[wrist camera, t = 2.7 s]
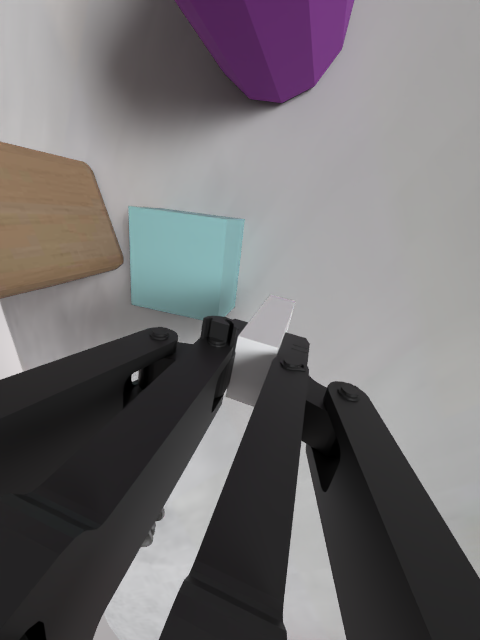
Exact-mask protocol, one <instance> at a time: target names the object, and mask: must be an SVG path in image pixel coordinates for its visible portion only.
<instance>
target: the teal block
mask: <svg viewBox="0 0 480 640" xmlns="http://www.w3.org/2000/svg"><path fill="white" fill-rule="evenodd" d="M128 208H129V239H130V270H131V302H132V305H136V306H140V307H145V308H149V309H154V310H158V311H163V312H167V313H172V314H177V315H181V316H186V317H190V318H195V319H199V320H203V318H204V317H207V316H222V317H225V316H226V315H227V314H228V313H229V312H230V311H231V310H232V309H233V308H234V307H235V300H236V291H237V282H238V274H239V265H240V256H241V247H242V239H243V230H244V221H245V219H238V218H230V217H223V216H215V215H207V214H200V213H192V212H185V211H177V210H170V209H162V208H148V207H134V206H128Z"/></svg>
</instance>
